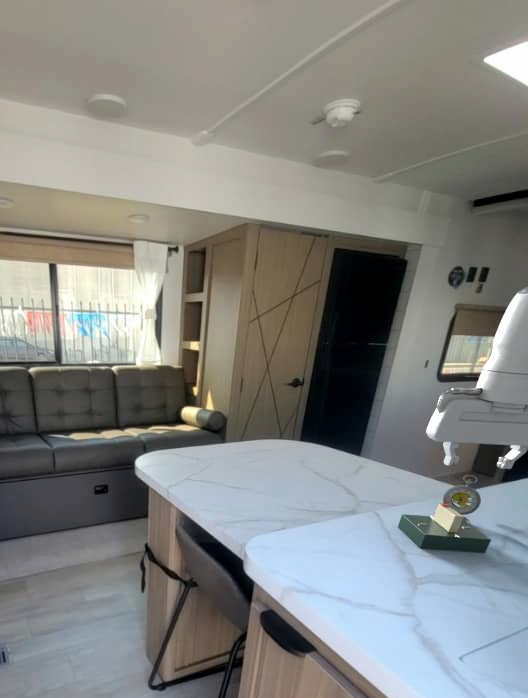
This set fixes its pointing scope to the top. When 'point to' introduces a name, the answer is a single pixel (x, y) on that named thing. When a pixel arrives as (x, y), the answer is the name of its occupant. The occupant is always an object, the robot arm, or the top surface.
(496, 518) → the top surface
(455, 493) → the pocket watch
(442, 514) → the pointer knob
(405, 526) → the dark green flat block
